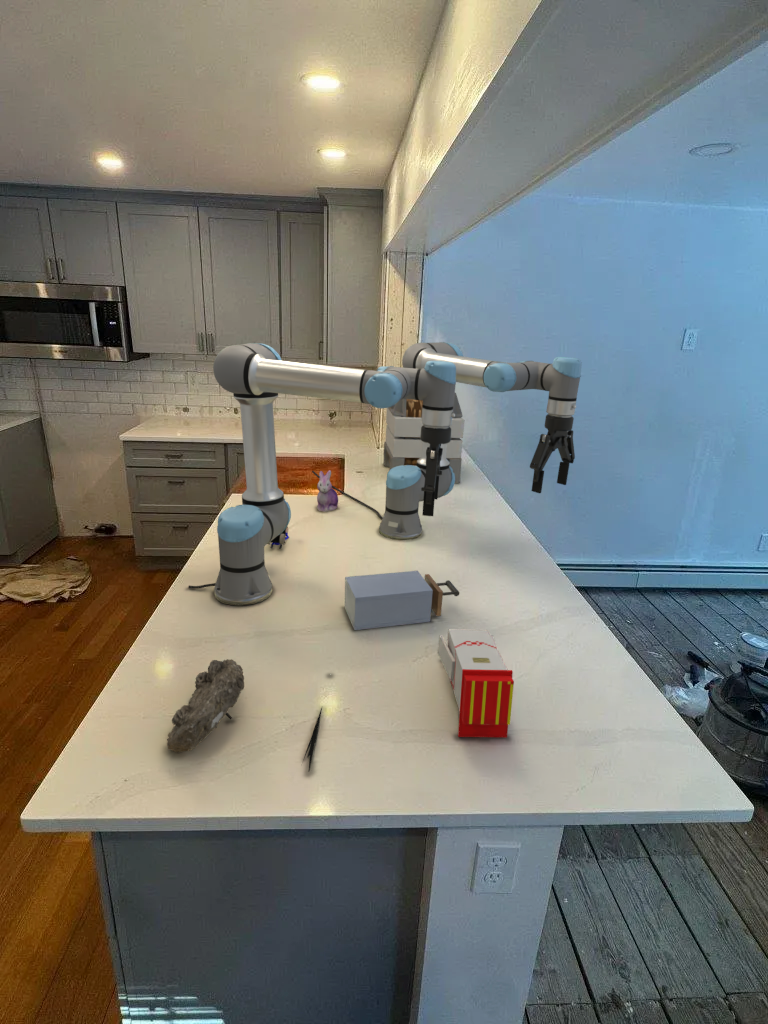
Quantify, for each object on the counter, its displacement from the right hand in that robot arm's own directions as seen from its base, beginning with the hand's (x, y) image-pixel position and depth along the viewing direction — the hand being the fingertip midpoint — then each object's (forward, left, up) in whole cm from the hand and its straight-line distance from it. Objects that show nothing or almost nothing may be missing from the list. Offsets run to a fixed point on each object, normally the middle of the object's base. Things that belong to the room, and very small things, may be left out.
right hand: (549, 487), depth 165 cm
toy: (+26, -60, -28) cm, 71 cm away
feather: (+14, -90, -28) cm, 95 cm away
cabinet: (-9, -53, -28) cm, 61 cm away
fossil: (+1, -105, -28) cm, 109 cm away
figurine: (-84, -19, -28) cm, 91 cm away
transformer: (-101, +48, -28) cm, 115 cm away
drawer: (-6, -48, -27) cm, 55 cm away
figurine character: (-65, -52, -28) cm, 88 cm away
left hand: (-9, -39, -1) cm, 41 cm away
